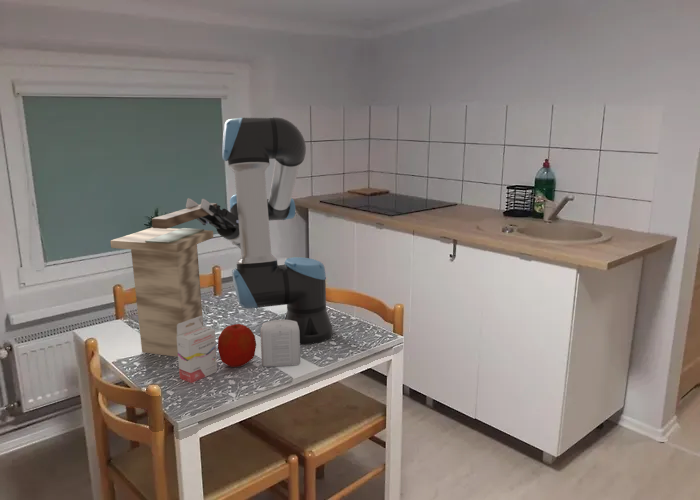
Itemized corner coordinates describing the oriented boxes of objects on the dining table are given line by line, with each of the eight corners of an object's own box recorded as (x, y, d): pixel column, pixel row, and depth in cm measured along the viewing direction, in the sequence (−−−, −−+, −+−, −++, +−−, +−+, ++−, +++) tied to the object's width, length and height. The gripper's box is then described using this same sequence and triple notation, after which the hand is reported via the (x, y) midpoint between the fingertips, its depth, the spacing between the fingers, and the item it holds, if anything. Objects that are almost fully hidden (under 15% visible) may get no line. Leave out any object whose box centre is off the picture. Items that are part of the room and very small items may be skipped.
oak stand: (162, 332, 172) (152, 226, 164) (220, 339, 167) (212, 229, 159) (123, 356, 156) (110, 239, 148) (186, 365, 150) (176, 243, 142)
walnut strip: (205, 211, 169) (205, 202, 169) (217, 211, 168) (217, 203, 168) (152, 228, 145) (151, 218, 145) (165, 228, 144) (165, 219, 144)
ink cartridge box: (192, 384, 139) (187, 328, 136) (179, 379, 142) (174, 324, 139) (218, 371, 146) (214, 318, 143) (205, 366, 149) (201, 314, 145)
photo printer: (300, 359, 153) (298, 316, 150) (301, 365, 149) (299, 321, 146) (261, 361, 151) (259, 318, 148) (261, 368, 147) (259, 324, 144)
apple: (244, 374, 144) (241, 332, 141) (210, 369, 147) (207, 327, 145) (263, 359, 153) (261, 319, 150) (232, 353, 157) (229, 314, 154)
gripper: (253, 241, 178) (219, 216, 156) (206, 238, 183) (166, 214, 161) (258, 219, 180) (224, 191, 158) (210, 216, 185) (171, 189, 163)
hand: (194, 202), depth 160 cm, fingers closed on walnut strip, 4 cm apart
